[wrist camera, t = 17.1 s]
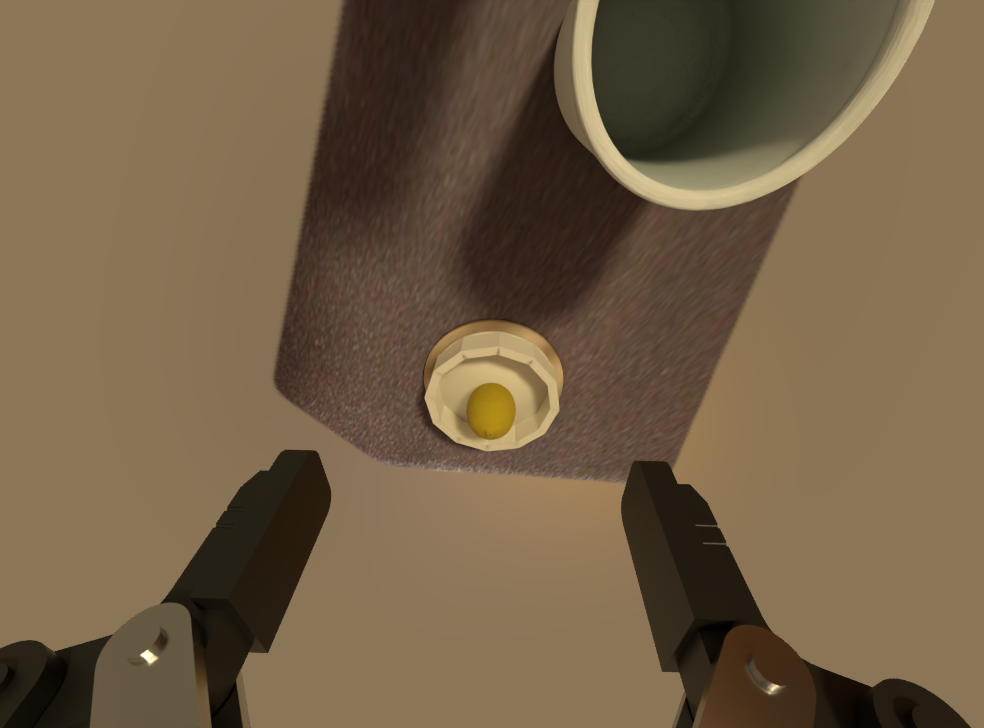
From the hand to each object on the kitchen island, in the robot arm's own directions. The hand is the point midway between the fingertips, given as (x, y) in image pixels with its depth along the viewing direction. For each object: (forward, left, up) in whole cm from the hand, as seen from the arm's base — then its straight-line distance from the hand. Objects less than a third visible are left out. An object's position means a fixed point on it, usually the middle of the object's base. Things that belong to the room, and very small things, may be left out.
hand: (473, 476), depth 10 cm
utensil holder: (-1, +15, -33) cm, 37 cm away
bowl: (+16, -14, -32) cm, 39 cm away
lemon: (+16, -14, -32) cm, 38 cm away
